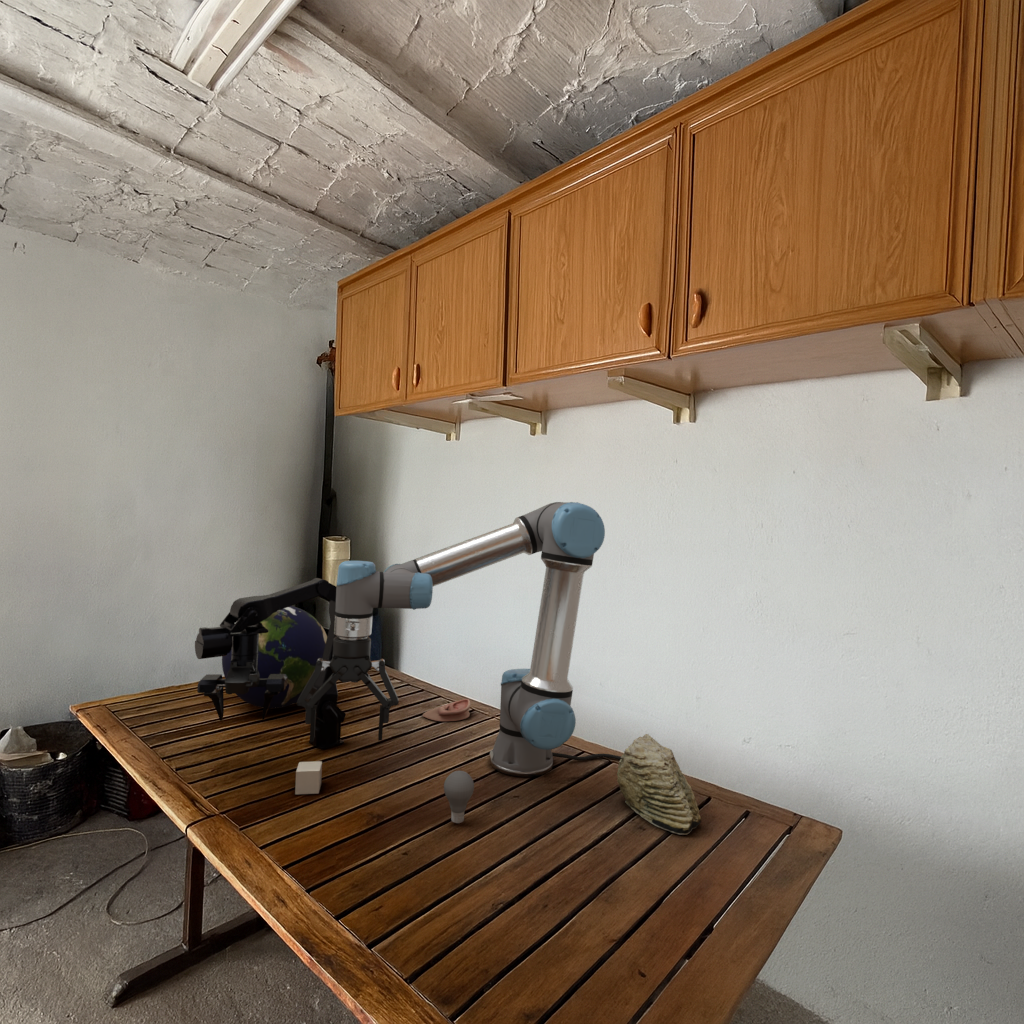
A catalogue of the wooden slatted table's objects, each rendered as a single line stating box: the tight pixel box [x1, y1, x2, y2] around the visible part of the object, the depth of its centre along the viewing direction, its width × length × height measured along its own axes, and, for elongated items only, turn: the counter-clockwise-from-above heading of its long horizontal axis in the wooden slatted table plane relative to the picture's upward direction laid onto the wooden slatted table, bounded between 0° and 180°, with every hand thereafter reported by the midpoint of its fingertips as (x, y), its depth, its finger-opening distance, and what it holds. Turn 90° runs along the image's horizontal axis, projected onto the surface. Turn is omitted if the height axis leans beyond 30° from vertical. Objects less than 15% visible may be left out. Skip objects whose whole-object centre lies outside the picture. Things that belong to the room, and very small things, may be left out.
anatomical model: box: [422, 698, 471, 722], centre depth 187 cm, size 13×4×12 cm
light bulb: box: [443, 770, 475, 824], centre depth 125 cm, size 6×6×10 cm
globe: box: [221, 605, 328, 709], centre depth 188 cm, size 30×30×30 cm
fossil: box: [616, 733, 702, 836], centre depth 132 cm, size 9×18×15 cm, turn 46°
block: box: [294, 760, 323, 795], centre depth 137 cm, size 5×5×5 cm
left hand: (242, 719), depth 148 cm, fingers open, 9 cm apart
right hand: (346, 738), depth 131 cm, fingers open, 13 cm apart
